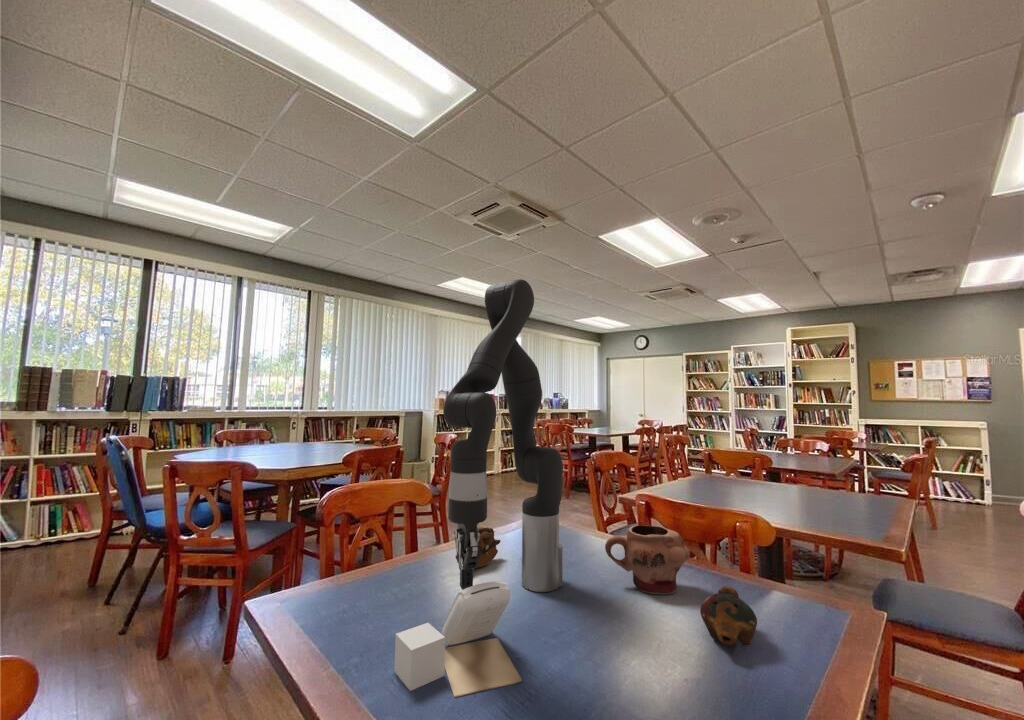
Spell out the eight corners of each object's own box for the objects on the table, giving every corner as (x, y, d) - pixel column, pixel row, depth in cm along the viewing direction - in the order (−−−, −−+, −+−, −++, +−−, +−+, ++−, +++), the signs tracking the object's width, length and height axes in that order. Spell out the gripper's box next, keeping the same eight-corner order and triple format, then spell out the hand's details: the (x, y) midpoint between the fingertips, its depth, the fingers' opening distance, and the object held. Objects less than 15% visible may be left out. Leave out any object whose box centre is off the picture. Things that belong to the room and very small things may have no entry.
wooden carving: (467, 578, 107) (468, 537, 108) (453, 574, 109) (454, 534, 110) (503, 559, 120) (503, 522, 121) (490, 555, 123) (490, 520, 124)
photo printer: (486, 614, 84) (507, 572, 79) (494, 635, 81) (517, 593, 76) (438, 626, 78) (458, 582, 74) (445, 649, 75) (466, 605, 71)
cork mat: (497, 639, 79) (497, 637, 79) (522, 681, 67) (522, 680, 67) (438, 650, 76) (438, 648, 76) (454, 697, 63) (454, 696, 63)
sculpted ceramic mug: (611, 598, 96) (610, 535, 98) (601, 576, 108) (600, 521, 110) (699, 600, 96) (697, 536, 97) (679, 578, 108) (678, 522, 110)
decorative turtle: (753, 626, 85) (751, 585, 85) (764, 669, 71) (761, 619, 72) (701, 616, 89) (699, 576, 89) (701, 655, 75) (699, 607, 76)
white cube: (394, 672, 69) (395, 633, 70) (427, 659, 73) (428, 622, 74) (410, 691, 65) (411, 650, 65) (444, 676, 68) (445, 637, 69)
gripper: (496, 500, 77) (495, 600, 75) (477, 487, 90) (476, 572, 88) (456, 503, 75) (453, 606, 73) (442, 489, 87) (440, 577, 85)
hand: (466, 587), depth 80 cm, fingers closed
